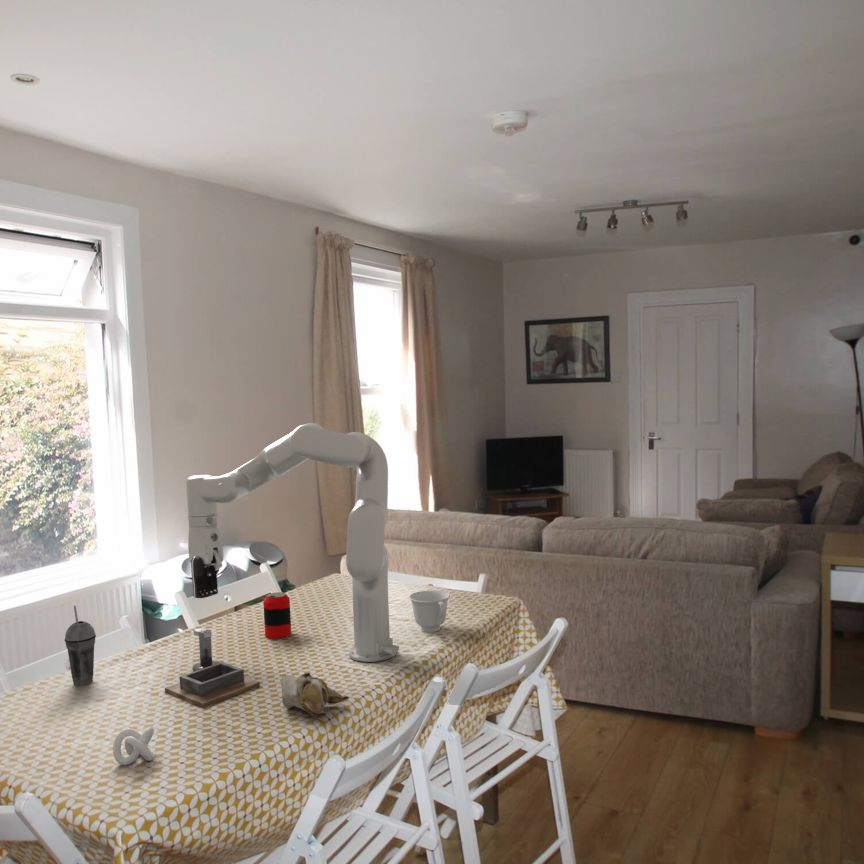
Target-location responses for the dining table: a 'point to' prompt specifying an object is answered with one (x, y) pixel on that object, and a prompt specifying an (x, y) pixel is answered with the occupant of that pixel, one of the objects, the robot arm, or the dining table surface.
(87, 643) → the beverage cup
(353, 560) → the robot arm
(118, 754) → the knot
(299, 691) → the ceramic sculpture
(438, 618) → the teacup
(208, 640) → the post
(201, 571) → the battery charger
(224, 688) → the holder
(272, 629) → the soda can
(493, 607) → the dining table surface
